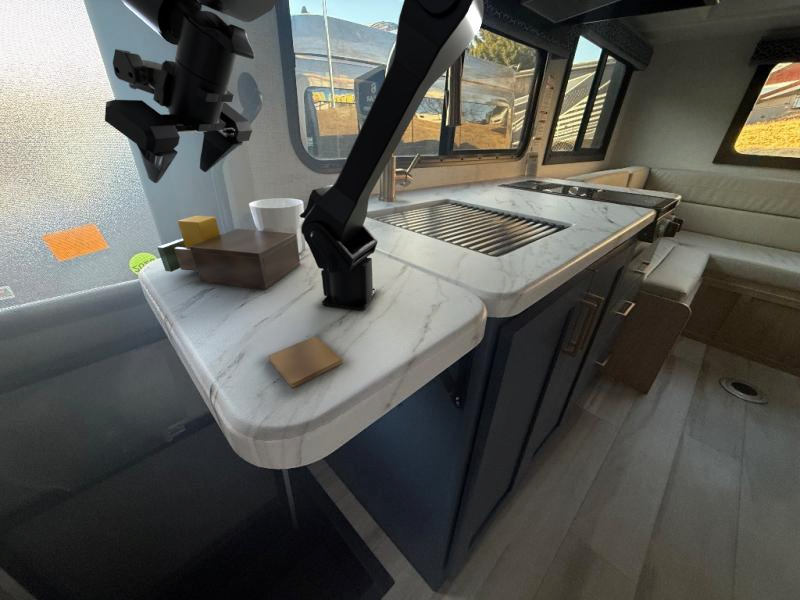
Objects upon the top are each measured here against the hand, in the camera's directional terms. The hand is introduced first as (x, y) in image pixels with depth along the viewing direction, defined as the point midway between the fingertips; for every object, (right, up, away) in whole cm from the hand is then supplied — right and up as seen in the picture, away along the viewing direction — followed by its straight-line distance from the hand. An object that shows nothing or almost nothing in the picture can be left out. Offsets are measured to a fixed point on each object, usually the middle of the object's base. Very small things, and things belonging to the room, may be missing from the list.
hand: (179, 175), depth 47 cm
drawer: (-1, -12, +9) cm, 15 cm away
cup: (+9, -9, +19) cm, 23 cm away
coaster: (+23, -26, -13) cm, 37 cm away
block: (-1, -11, +9) cm, 14 cm away
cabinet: (+8, -14, +8) cm, 18 cm away
